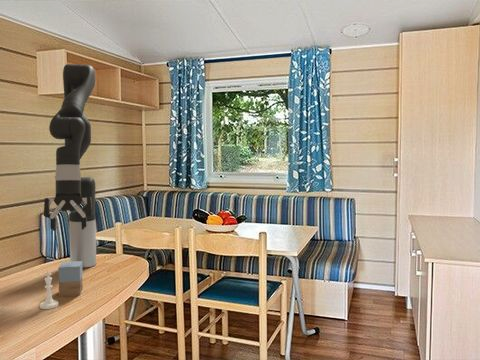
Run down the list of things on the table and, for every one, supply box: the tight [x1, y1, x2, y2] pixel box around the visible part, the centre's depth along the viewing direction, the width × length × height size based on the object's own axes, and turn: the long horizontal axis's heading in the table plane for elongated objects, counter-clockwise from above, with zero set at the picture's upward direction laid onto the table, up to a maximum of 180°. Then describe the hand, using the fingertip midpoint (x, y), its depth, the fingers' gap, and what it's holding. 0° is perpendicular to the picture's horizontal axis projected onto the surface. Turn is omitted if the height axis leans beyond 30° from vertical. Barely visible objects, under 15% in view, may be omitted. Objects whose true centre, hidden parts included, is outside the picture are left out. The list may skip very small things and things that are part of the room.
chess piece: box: [39, 270, 60, 310], centre depth 118 cm, size 5×5×10 cm
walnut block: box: [58, 277, 84, 298], centre depth 129 cm, size 6×6×4 cm
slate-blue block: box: [58, 261, 84, 283], centre depth 129 cm, size 6×6×4 cm
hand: (68, 230), depth 134 cm, fingers open, 8 cm apart
